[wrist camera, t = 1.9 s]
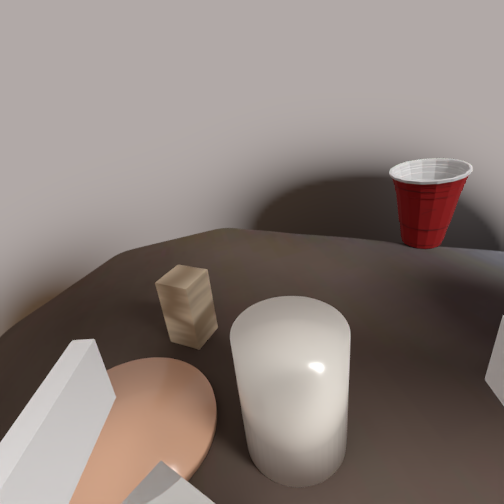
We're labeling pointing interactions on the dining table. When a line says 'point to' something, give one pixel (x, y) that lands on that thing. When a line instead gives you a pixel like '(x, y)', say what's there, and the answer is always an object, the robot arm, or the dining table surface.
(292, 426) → the white pillar candle
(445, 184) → the plastic cup
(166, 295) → the beech block
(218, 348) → the dining table surface
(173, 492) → the white square pad
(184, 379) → the peach round disc
